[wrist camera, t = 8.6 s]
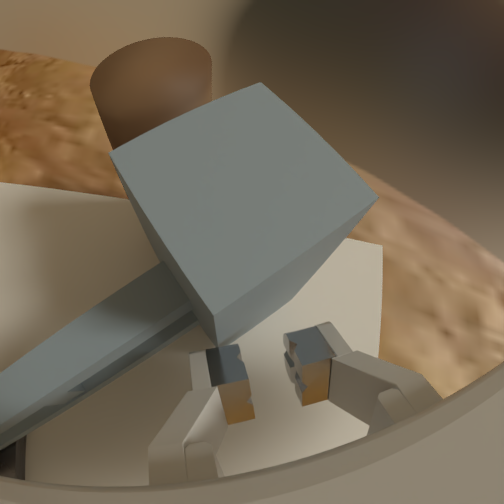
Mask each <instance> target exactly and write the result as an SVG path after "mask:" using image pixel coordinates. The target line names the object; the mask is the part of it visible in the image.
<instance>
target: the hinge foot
mask: <svg viewBox="0 0 504 504" xmlns="http://www.w3.org/2000/svg"><path fill="white" fill-rule="evenodd" d="M26 438H27V435H25V436H24V437H22V438H20V439H19V440H17V441H15V442H14V443H12V444H10V445H8V446H7V447H5V448H3V449H2V450H0V476H3V477H9V478H14V479H20V480H25V457H26Z"/></svg>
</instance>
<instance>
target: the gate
mask: <svg viewBox="0 0 504 504" xmlns="http://www.w3.org/2000/svg"><path fill="white" fill-rule="evenodd" d="M109 155H110V158H111V160H112V162H113V165H114V167H115V169H116V171H117V174H118V176H119V178H120V180H121V183H122V185H123V187H124V189H125V192H126V194H127V196H128V198H129V200H130V202H131V205H132V207H133V209H134V211H135V213H136V215H137V217H138V219H139V221H140V223H141V226H142V228H143V230H144V232H145V234H146V236H147V238H148V240H149V242H150V244H151V246H152V248H153V250H154V252H155V254H156V256H157V258H158V260H159V261H160V263H159V264H157V265H156V266H154V267H153V268H151V269H150V270H148V271H147V272H145V273H144V274H142V275H140V276H139V277H137V278H136V279H134V280H133V281H131V282H130V283H128V284H127V285H125V286H124V287H122V288H121V289H119V290H118V291H116V292H115V293H113V294H112V295H110V296H109V297H107V298H106V299H104V300H103V301H101V302H100V303H98V304H97V305H95V306H94V307H92V308H91V309H90V310H88V311H87V312H85V313H84V314H82V315H81V316H79V317H78V318H76V319H75V320H74V321H72V322H71V323H69V324H68V325H66V326H65V327H63V328H62V329H61V330H59V331H58V332H56V333H55V334H54V335H52V336H51V337H49V338H48V339H46V340H45V341H44V342H42V343H41V344H39V345H38V346H37V347H35V348H34V349H32V350H31V351H30V352H28V353H27V354H26V355H24V356H23V357H21V358H20V359H19V360H17V361H16V362H15V363H13V364H12V365H11V366H9V367H8V368H6V369H5V370H4V371H2V372H1V373H0V450H2V449H3V448H5V447H7V446H8V445H10V444H12V443H14V442H15V441H17V440H19V439H20V438H22V437H24V436H25V435H27V434H29V433H30V432H32V431H34V430H35V429H37V428H39V427H40V426H42V425H44V424H45V423H47V422H49V421H50V420H52V419H53V418H55V417H57V416H58V415H60V414H62V413H63V412H65V411H66V410H68V409H70V408H71V407H73V406H74V405H76V404H78V403H79V402H81V401H82V400H84V399H86V398H87V397H89V396H90V395H92V394H94V393H95V392H97V391H98V390H100V389H102V388H103V387H105V386H106V385H108V384H109V383H111V382H112V381H114V380H116V379H117V378H119V377H120V376H122V375H123V374H125V373H126V372H128V371H130V370H131V369H133V368H134V367H136V366H137V365H139V364H140V363H142V362H143V361H145V360H146V359H148V358H150V357H151V356H153V355H154V354H156V353H157V352H159V351H160V350H162V349H163V348H165V347H166V346H168V345H169V344H171V343H172V342H174V341H175V340H177V339H178V338H180V337H181V336H183V335H184V334H186V333H187V332H189V331H190V330H192V329H193V328H195V327H196V326H198V325H199V324H200V326H201V327H202V329H203V330H204V332H205V333H206V334H207V336H208V337H209V339H210V340H211V341H212V343H213V344H214V346H215V347H222V346H228V345H230V344H231V343H232V342H234V341H235V340H237V339H238V338H240V337H241V336H242V335H244V334H245V333H247V332H248V331H249V330H251V329H252V328H254V327H255V326H256V325H258V324H259V323H261V322H262V321H263V320H265V319H266V318H267V317H269V316H270V315H272V314H273V313H274V312H276V311H277V310H278V309H280V308H281V307H282V306H284V305H285V304H286V303H288V302H289V301H290V300H292V299H293V297H294V296H295V295H296V294H297V293H298V292H299V291H300V290H301V289H302V287H303V286H304V285H305V284H306V283H307V282H308V281H309V280H310V278H311V277H312V276H313V275H314V274H315V273H316V272H317V270H318V269H319V268H320V267H321V266H322V265H323V264H324V262H325V261H326V260H327V259H328V258H329V257H330V256H331V254H332V253H333V252H334V251H335V250H336V249H337V247H338V246H339V245H340V244H341V243H342V241H343V240H344V239H345V238H346V237H347V236H348V234H349V233H350V232H351V231H352V230H353V228H354V227H355V226H356V225H357V224H358V222H359V221H360V220H361V219H362V218H363V216H364V215H365V214H366V213H367V211H368V210H369V209H370V208H371V207H372V205H373V204H374V203H375V202H376V200H377V199H378V198H379V197H378V196H377V195H376V194H375V193H374V191H373V190H372V189H371V188H370V187H369V186H368V185H367V184H366V183H365V182H364V180H363V179H362V178H361V177H360V176H359V175H358V174H357V173H356V172H355V171H354V170H353V169H352V168H351V167H350V165H349V164H348V163H347V162H346V161H345V160H344V159H343V158H342V157H341V156H340V155H339V154H338V153H337V152H336V151H335V150H334V149H333V148H332V147H331V146H330V145H329V144H328V143H327V142H326V141H325V140H324V139H323V138H322V137H321V136H320V135H319V134H318V133H317V132H316V131H314V130H313V129H312V128H311V127H310V126H309V125H308V124H307V123H306V122H305V121H304V120H303V119H302V118H300V116H299V115H297V114H296V113H295V112H294V111H293V110H292V109H291V108H290V107H289V106H287V105H286V104H285V103H284V102H283V101H282V100H281V99H280V98H278V97H277V96H276V95H275V94H274V93H273V92H271V91H270V90H269V89H268V88H267V87H266V86H264V85H263V84H262V83H261V82H260V83H257V84H254V85H252V86H249V87H246V88H244V89H241V90H239V91H236V92H233V93H231V94H228V95H226V96H223V97H221V98H219V99H216V100H214V101H212V102H209V103H207V104H205V105H202V106H200V107H198V108H195V109H193V110H191V111H189V112H187V113H184V114H182V115H180V116H178V117H176V118H174V119H172V120H170V121H168V122H166V123H164V124H162V125H160V126H158V127H156V128H154V129H152V130H150V131H148V132H146V133H144V134H142V135H140V136H138V137H136V138H134V139H133V140H131V141H129V142H127V143H125V144H123V145H122V146H120V147H118V148H116V149H115V150H113V151H111V152H109Z"/></svg>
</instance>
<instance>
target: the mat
mask: <svg viewBox="0 0 504 504" xmlns="http://www.w3.org/2000/svg"><path fill="white" fill-rule="evenodd" d="M159 263H160V261H159V260H158V258H157V256H156V254H155V252H154V250H153V248H152V246H151V244H150V242H149V240H148V238H147V236H146V234H145V232H144V230H143V228H142V226H141V223H140V221H139V219H138V217H137V215H136V213H135V211H134V209H133V207H132V205H131V202H130V200H129V199H122V198H115V197H109V196H102V195H95V194H88V193H81V192H73V191H66V190H58V189H51V188H43V187H35V186H27V185H19V184H10V183H2V182H0V373H1V372H2V371H4V370H5V369H6V368H8V367H9V366H11V365H12V364H13V363H15V362H16V361H17V360H19V359H20V358H21V357H23V356H24V355H26V354H27V353H28V352H30V351H31V350H32V349H34V348H35V347H37V346H38V345H39V344H41V343H42V342H44V341H45V340H46V339H48V338H49V337H51V336H52V335H54V334H55V333H56V332H58V331H59V330H61V329H62V328H63V327H65V326H66V325H68V324H69V323H71V322H72V321H74V320H75V319H76V318H78V317H79V316H81V315H82V314H84V313H85V312H87V311H88V310H90V309H91V308H92V307H94V306H95V305H97V304H98V303H100V302H101V301H103V300H104V299H106V298H107V297H109V296H110V295H112V294H113V293H115V292H116V291H118V290H119V289H121V288H122V287H124V286H125V285H127V284H128V283H130V282H131V281H133V280H134V279H136V278H137V277H139V276H140V275H142V274H144V273H145V272H147V271H148V270H150V269H151V268H153V267H154V266H156V265H157V264H159ZM382 264H383V252H382V245H377V244H372V243H367V242H363V241H358V240H353V239H348V238H345V239H344V240H343V241H342V243H341V244H340V245H339V246H338V247H337V249H336V250H335V251H334V252H333V253H332V254H331V256H330V257H329V258H328V259H327V260H326V261H325V262H324V264H323V265H322V266H321V267H320V268H319V269H318V270H317V272H316V273H315V274H314V275H313V276H312V277H311V278H310V280H309V281H308V282H307V283H306V284H305V285H304V286H303V287H302V289H301V290H300V291H299V292H298V293H297V294H296V295H295V296H294V297H293V299H292V300H290V301H289V302H288V303H286V304H285V305H284V306H282V307H281V308H280V309H278V310H277V311H276V312H274V313H273V314H272V315H270V316H269V317H267V318H266V319H265V320H263V321H262V322H261V323H259V324H258V325H256V326H255V327H254V328H252V329H251V330H249V331H248V332H247V333H245V334H244V335H242V336H241V337H240V338H238V339H237V340H235V341H234V342H232V343H231V344H230V345H233V344H238V345H239V348H240V351H241V357H242V361H243V362H244V364H245V368H246V371H247V375H248V378H249V383H250V389H251V394H252V395H251V399H252V403H253V406H254V413H255V419H252V420H248V421H244V422H239V423H235V424H231V425H228V429H227V431H226V433H225V436H224V438H223V440H222V442H221V445H220V447H219V449H218V452H217V454H216V457H217V459H218V461H219V464H220V466H221V469H222V471H223V474H224V476H230V475H235V474H240V473H245V472H250V471H255V470H259V469H263V468H268V467H272V466H276V465H280V464H283V463H287V462H291V461H294V460H298V459H301V458H305V457H308V456H311V455H314V454H318V453H321V452H324V451H327V450H330V449H333V448H336V447H338V446H341V445H344V444H347V443H349V442H352V441H355V440H357V439H360V438H362V437H365V436H367V433H368V429H369V425H367V424H366V423H364V422H362V421H361V420H359V419H357V418H356V417H354V416H352V415H351V414H349V413H347V412H346V411H344V410H343V409H341V408H339V407H338V406H336V405H334V404H333V403H331V402H330V401H328V400H325V401H321V402H317V403H314V404H310V405H306V406H303V407H302V405H301V403H300V401H299V399H298V397H297V394H296V392H295V384H294V383H292V382H291V381H290V379H289V377H288V374H287V371H286V367H285V361H284V353H285V352H286V351H287V350H286V348H285V346H284V344H283V334H284V333H288V332H292V331H296V330H300V329H304V328H308V327H312V326H314V325H317V324H321V323H324V322H328V321H329V322H331V323H332V324H333V325H334V327H335V328H336V329H337V331H338V332H339V333H340V335H341V336H342V337H343V339H344V340H345V341H346V343H347V344H348V345H349V347H350V348H351V349H352V351H357V350H358V351H360V352H363V353H366V354H368V355H371V356H373V357H376V358H378V352H379V339H380V324H381V305H382ZM210 348H216V347H215V346H214V344H213V343H212V341H211V340H210V339H209V337H208V336H207V334H206V333H205V332H204V330H203V329H202V327H201V326H200V324H199V325H198V326H196V327H195V328H193V329H192V330H190V331H189V332H187V333H186V334H184V335H183V336H181V337H180V338H178V339H177V340H175V341H174V342H172V343H171V344H169V345H168V346H166V347H165V348H163V349H162V350H160V351H159V352H157V353H156V354H154V355H153V356H151V357H150V358H148V359H146V360H145V361H143V362H142V363H140V364H139V365H137V366H136V367H134V368H133V369H131V370H130V371H128V372H126V373H125V374H123V375H122V376H120V377H119V378H117V379H116V380H114V381H112V382H111V383H109V384H108V385H106V386H105V387H103V388H102V389H100V390H98V391H97V392H95V393H94V394H92V395H90V396H89V397H87V398H86V399H84V400H82V401H81V402H79V403H78V404H76V405H74V406H73V407H71V408H70V409H68V410H66V411H65V412H63V413H62V414H60V415H58V416H57V417H55V418H53V419H52V420H50V421H49V422H47V423H45V424H44V425H42V426H40V427H39V428H37V429H35V430H34V431H32V432H30V433H29V434H27V438H26V457H25V480H27V481H34V482H42V483H51V484H62V485H76V486H107V487H115V486H147V485H149V467H148V447H149V445H150V444H151V443H152V441H153V440H154V438H155V437H156V436H157V434H158V433H159V431H160V430H161V428H162V427H163V426H164V424H165V423H166V421H167V420H168V418H169V417H170V416H171V414H172V413H173V411H174V410H175V408H176V407H177V405H178V404H179V403H180V401H181V400H182V398H183V397H184V395H185V394H186V392H187V391H192V386H191V377H190V367H189V357H188V355H189V352H193V351H199V350H206V349H210Z"/></svg>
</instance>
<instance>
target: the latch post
mask: <svg viewBox="0 0 504 504" xmlns="http://www.w3.org/2000/svg"><path fill="white" fill-rule="evenodd" d="M211 82H212V61H211V57H210V54H209V53H208V51H207V50H206V49H205V48H204V47H202V46H201V45H199V44H197V43H195V42H193V41H190V40H186V39H182V38H173V37H172V38H171V37H164V38H163V37H162V38H153V39H147V40H142V41H139V42H136V43H133V44H130V45H127V46H125V47H123V48H121V49H119V50H117V51H116V52H114V53H113V54H111V55H109V56H108V57H107V58H106V59H105V60H103V61H102V62H101V63H100V64H99V65H98V67H97V68H96V69H95V71H94V73H93V75H92V77H91V80H90V89H91V92H92V95H93V98H94V101H95V104H96V106H97V109H98V112H99V115H100V117H101V120H102V123H103V125H104V128H105V131H106V133H107V136H108V138H109V141H110V143H111V146H112V148H113V150H115V149H116V148H118V147H120V146H122V145H123V144H125V143H127V142H129V141H131V140H133V139H134V138H136V137H138V136H140V135H142V134H144V133H146V132H148V131H150V130H152V129H154V128H156V127H158V126H160V125H162V124H164V123H166V122H168V121H170V120H172V119H174V118H176V117H178V116H180V115H182V114H184V113H187V112H189V111H191V110H193V109H195V108H198V107H200V106H202V105H205V104H207V103H209V102H212V93H211V92H212V87H211V86H212V83H211Z"/></svg>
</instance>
